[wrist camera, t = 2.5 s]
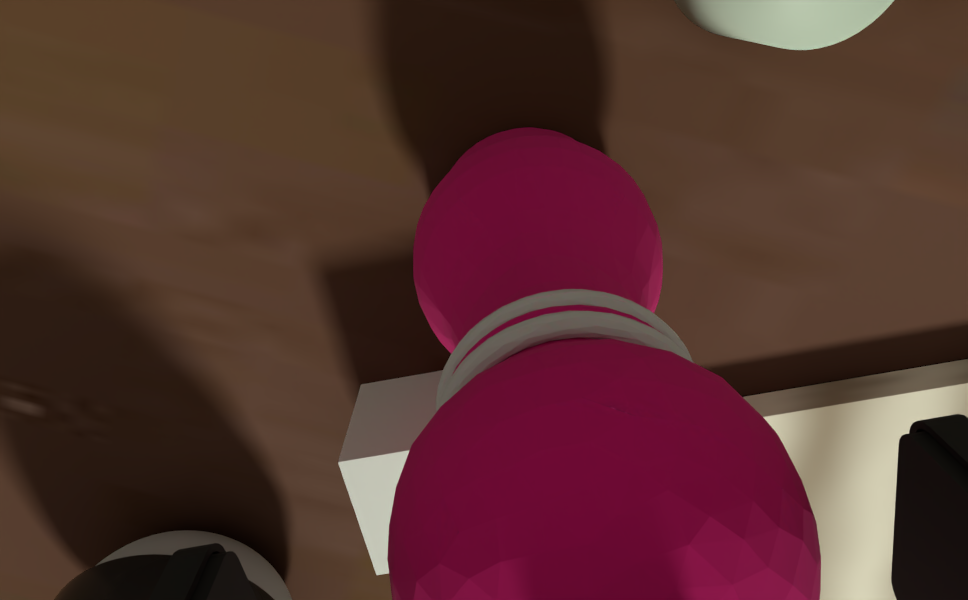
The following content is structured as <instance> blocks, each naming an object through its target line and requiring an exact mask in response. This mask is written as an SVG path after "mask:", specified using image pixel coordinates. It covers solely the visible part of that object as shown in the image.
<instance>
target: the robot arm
mask: <svg viewBox="0 0 968 600" xmlns="http://www.w3.org/2000/svg"><path fill="white" fill-rule="evenodd" d="M891 583H892V588H893V591H894V594H895V597H896V599H897V600H968V417H966V416H965V415H961V414H954V415H948V416H943V417H937V418H931V419H925V420H920V421H916V422H914V423H913V424H912V425H911V427H910V431H909V434H904V435H902V436H901V438H900V440H899V447H898V465H897V483H896V501H895V518H894V536H893V554H892V572H891ZM149 600H257V598H256V596H255V594H254V592H253V589H252V587H251V585H250V583H249V580H248V578H247V576H246V574H245V572H244V569H243V567H242V565H241V563H240V560H239V558H238V556H237V555H236V553H234V552H233V551H228V552H226V551H225V549H224V547H223V546H222V545H220V544H219V543H213V544H207V545H201V546H196V547H190V548H184V549H179V550H177V551H176V552H174V553H173V555H172V556H171V558H170V559H169V561H168V563H167V565H166V567H165V569H164V571H163V573H162V575H161V577H160V579H159V581H158V583H157V585H156V586H155V588H154V590H153V592H152V594H151V596H150V598H149Z"/></svg>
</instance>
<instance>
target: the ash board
mask: <svg viewBox="0 0 968 600" xmlns="http://www.w3.org/2000/svg"><path fill="white" fill-rule="evenodd" d="M743 398H744V399H745V400H746V401H747V402H748V403H749V404H750V405H751V406H752V407H753V408H754V409H755V410H756V411H757V412H758V413H759V414H760V415H762V416H763V418H764V419H765V420H766V421H767V422H768V423H769V425H770V426H771V427H772V428H773V429H774V430H775V432H776V433H777V434H778V436H779V438H780V439H781V441H782V443H783V445H784V447H785V449H786V451H787V453H788V454H789V456H790V458H791V460H792V462H793V464H794V466H795V468H796V470H797V472H798V474H799V476H800V478H801V480H802V482H803V485H804V488H805V491H806V494H807V497H808V500H809V502H810V505H811V508H812V511H813V514H814V517H815V520H816V523H817V531H818V538H819V545H820V553H821V591H820V600H897V599H896V597H895V594H894V591H893V588H892V583H891V572H892V554H893V536H894V518H895V501H896V483H897V465H898V447H899V440H900V438H901V436H902V435H904V434H909V431H910V427H911V425H912V424H913V423H914V422H916V421H920V420H925V419H931V418H937V417H943V416H948V415H954V414H961V415H965V416H966V417H968V359H965V360H959V361H953V362H947V363H941V364H935V365H929V366H923V367H917V368H911V369H905V370H899V371H893V372H887V373H881V374H876V375H870V376H864V377H858V378H852V379H846V380H840V381H834V382H828V383H822V384H816V385H810V386H804V387H798V388H792V389H787V390H781V391H775V392H769V393H763V394H757V395H751V396H745V397H743Z"/></svg>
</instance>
